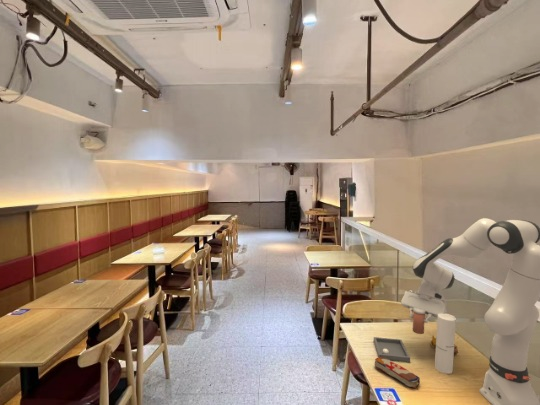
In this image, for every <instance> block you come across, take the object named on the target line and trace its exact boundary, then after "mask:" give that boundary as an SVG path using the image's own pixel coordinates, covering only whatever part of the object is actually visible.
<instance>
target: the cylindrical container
mask: <svg viewBox="0 0 540 405" xmlns="http://www.w3.org/2000/svg"><path fill="white" fill-rule="evenodd" d="M436 318H437V317H436ZM436 321H437V322H436V337H435V338H436V350H435V357H434V368H435V369H436V370H437V371H438V372H440V373H442V374H444V375H445V374H447V375H450V374H452V373H453V372H454V371H453V368H454V356H455V353H454V344H455V338H456V325H457V324H456V322H457V318H456V317H455V315H452V314H449V313H447V312H446V313H444V314H442V313H439V314H438V318H437V320H436Z"/></svg>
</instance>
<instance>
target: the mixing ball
mask: <svg viewBox="0 0 540 405" xmlns="http://www.w3.org/2000/svg"><path fill="white" fill-rule="evenodd" d="M382 353H383V354H389V351H388V350H387V349H383V350H382Z"/></svg>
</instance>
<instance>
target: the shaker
mask: <svg viewBox="0 0 540 405" xmlns="http://www.w3.org/2000/svg"><path fill="white" fill-rule="evenodd" d="M412 313H413V318H412V332H413V333H414V334H419V335H423V334H424V333H425V324H426V323H425V322H424V321H423V320H424V318H426V317H425V316H426V314H425V309H422V308H419V307H414V308H413V312H412Z"/></svg>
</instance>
